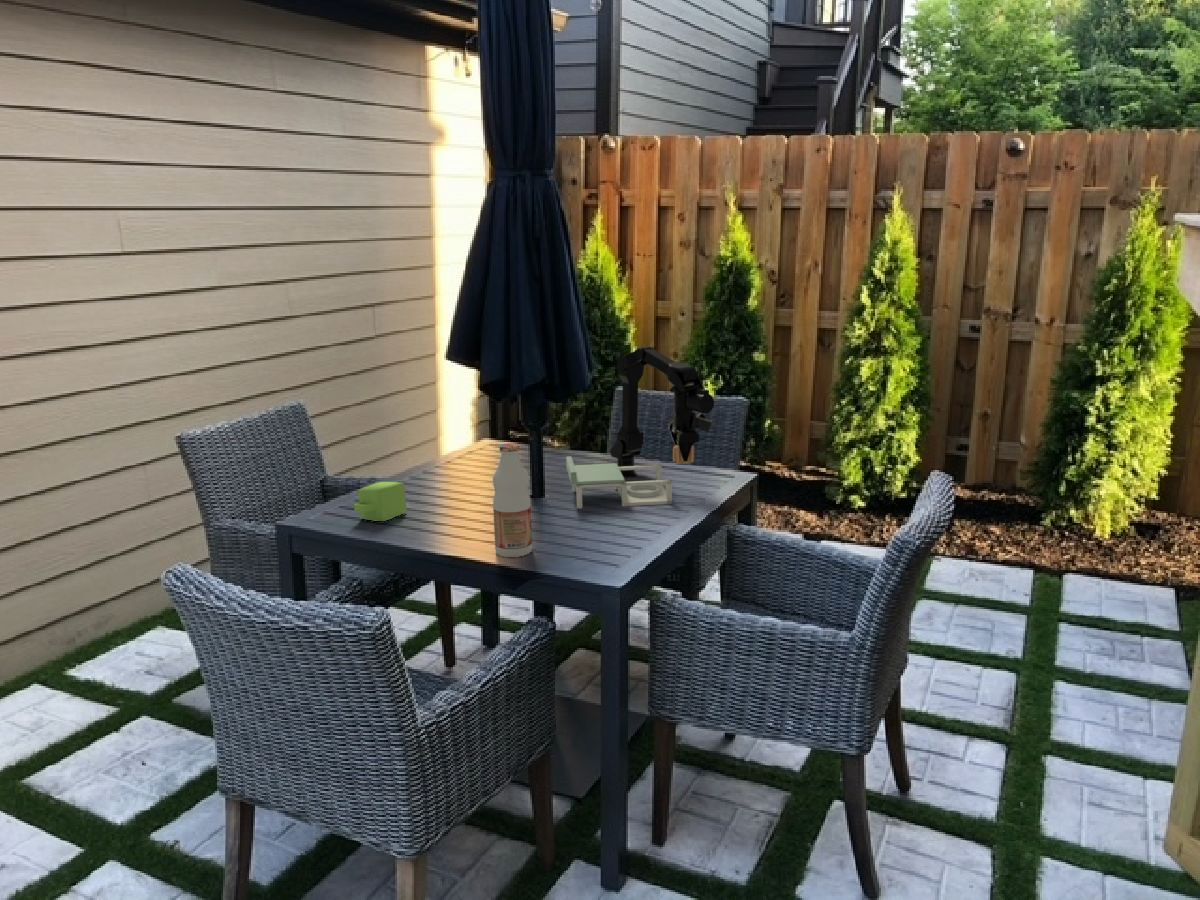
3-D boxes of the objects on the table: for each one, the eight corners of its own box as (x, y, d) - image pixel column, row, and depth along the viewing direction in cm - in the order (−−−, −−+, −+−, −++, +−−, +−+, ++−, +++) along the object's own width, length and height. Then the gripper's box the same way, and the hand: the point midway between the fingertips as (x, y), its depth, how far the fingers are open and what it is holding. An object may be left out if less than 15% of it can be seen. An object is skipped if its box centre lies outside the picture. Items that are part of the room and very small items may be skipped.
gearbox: (390, 507, 284) (387, 476, 283) (416, 509, 280) (413, 478, 278) (349, 523, 269) (345, 490, 267) (376, 526, 264) (373, 493, 262)
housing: (572, 490, 296) (571, 468, 294) (661, 486, 299) (661, 464, 297) (577, 508, 278) (576, 485, 276) (671, 503, 280) (671, 481, 279)
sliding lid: (566, 468, 294) (566, 456, 293) (616, 465, 296) (616, 454, 295) (571, 484, 276) (570, 472, 275) (624, 482, 277) (624, 469, 276)
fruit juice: (487, 553, 242) (482, 446, 235) (514, 543, 249) (509, 439, 242) (513, 561, 236) (509, 451, 229) (540, 550, 243) (536, 444, 236)
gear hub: (671, 459, 292) (671, 443, 291) (691, 458, 293) (691, 443, 292) (675, 464, 286) (675, 448, 285) (695, 464, 287) (696, 447, 285)
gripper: (717, 413, 277) (716, 465, 281) (703, 401, 295) (702, 449, 299) (679, 414, 276) (679, 466, 280) (667, 402, 294) (667, 451, 298)
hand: (683, 458), depth 289 cm, fingers closed on gear hub, 6 cm apart
